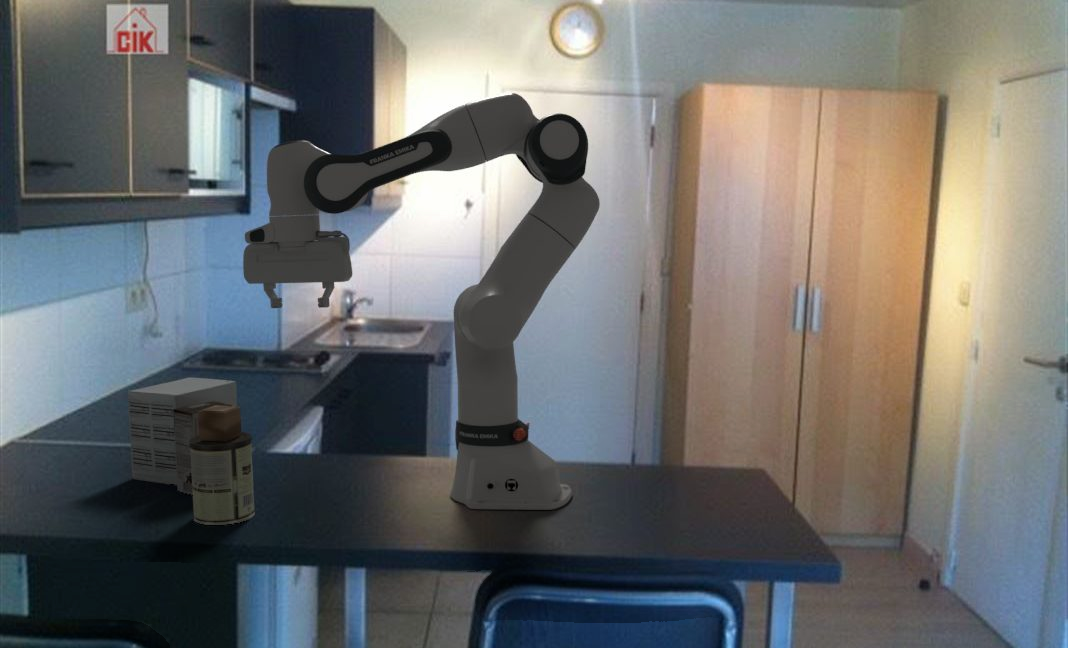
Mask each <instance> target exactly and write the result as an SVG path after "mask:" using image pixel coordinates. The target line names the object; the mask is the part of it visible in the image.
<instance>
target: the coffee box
mask: <svg viewBox="0 0 1068 648" xmlns="http://www.w3.org/2000/svg"><path fill="white" fill-rule="evenodd" d="M215 405H219V406H232V405H228V404H225V403H221V402H215V401H211V402H207V403H201V404H196V405H191V406H186V407H181V408H177V409H173V412H174V431H175V449H176V468H177V485H176V486H177V492H178V491H180V492H179V493H181V492H184V493H183V494H185V493H187V495H189V494H191V495H190V496H192V495H193V491H192V472H191V454H190V445H189V440H190V439H191V438H193V437H196V436H199V419H198V411H201V410H203V409H206V408H209V407H212V406H215Z"/></svg>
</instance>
